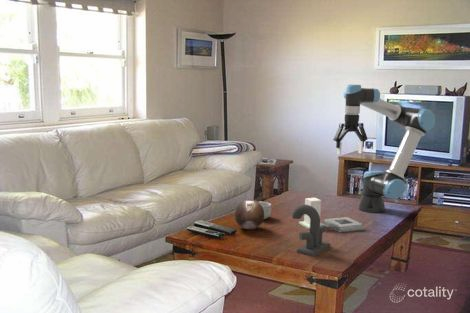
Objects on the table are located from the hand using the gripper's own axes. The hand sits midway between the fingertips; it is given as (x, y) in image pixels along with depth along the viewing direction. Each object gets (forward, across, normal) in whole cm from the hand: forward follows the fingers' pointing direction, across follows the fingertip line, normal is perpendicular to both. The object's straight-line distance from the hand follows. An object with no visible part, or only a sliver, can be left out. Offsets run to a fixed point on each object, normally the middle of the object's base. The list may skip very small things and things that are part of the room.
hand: (349, 153), depth 279 cm
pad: (+37, +23, +3) cm, 43 cm away
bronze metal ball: (+37, +57, -2) cm, 68 cm away
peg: (+36, +23, +3) cm, 43 cm away
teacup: (+37, +42, -19) cm, 59 cm away
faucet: (+37, +44, +32) cm, 66 cm away
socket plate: (+37, +9, +11) cm, 39 cm away
